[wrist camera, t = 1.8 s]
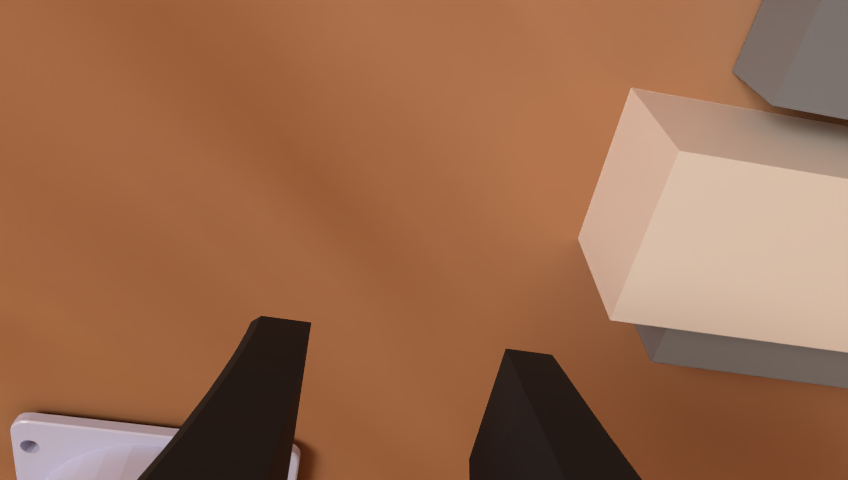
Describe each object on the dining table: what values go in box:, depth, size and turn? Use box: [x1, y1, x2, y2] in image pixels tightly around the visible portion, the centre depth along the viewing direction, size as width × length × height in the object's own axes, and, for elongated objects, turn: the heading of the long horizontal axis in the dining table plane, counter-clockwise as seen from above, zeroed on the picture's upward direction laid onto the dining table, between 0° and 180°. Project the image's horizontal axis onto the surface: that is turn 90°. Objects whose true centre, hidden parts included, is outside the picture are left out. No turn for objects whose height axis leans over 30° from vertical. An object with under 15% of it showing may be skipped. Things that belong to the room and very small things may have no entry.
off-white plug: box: [578, 88, 848, 353], centre depth 16 cm, size 4×8×4 cm, turn 79°
